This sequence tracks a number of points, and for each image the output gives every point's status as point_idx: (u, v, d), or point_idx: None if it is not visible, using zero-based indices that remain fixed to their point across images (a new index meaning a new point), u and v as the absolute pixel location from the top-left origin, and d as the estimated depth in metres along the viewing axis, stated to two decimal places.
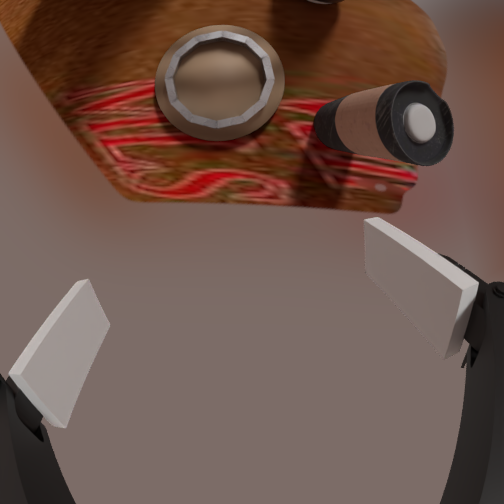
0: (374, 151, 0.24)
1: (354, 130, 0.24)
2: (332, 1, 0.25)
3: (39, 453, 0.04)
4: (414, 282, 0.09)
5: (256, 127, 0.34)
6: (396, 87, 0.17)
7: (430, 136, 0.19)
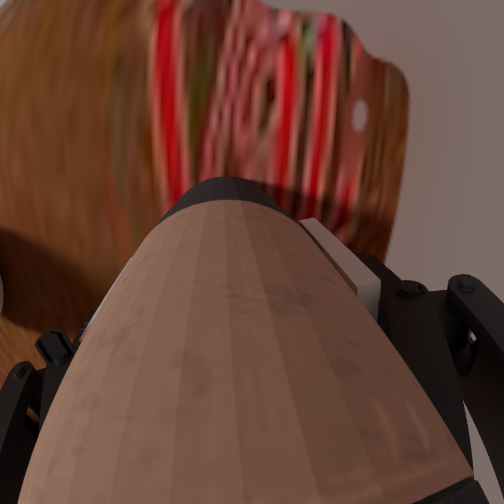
0: None
1: None
2: None
3: None
4: None
5: None
6: None
7: None
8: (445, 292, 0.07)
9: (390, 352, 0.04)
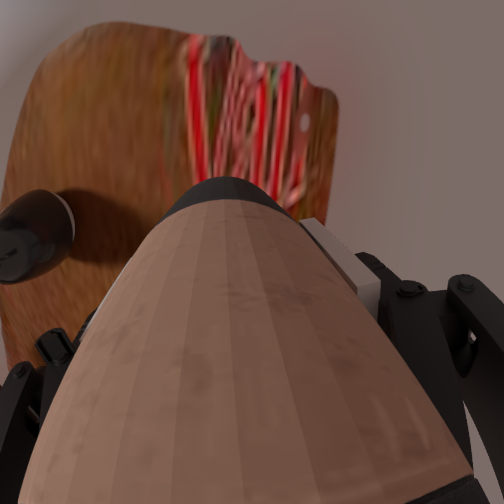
0: None
1: None
2: (67, 217, 0.28)
3: None
4: None
5: None
6: None
7: None
8: (445, 292, 0.07)
9: (389, 350, 0.04)
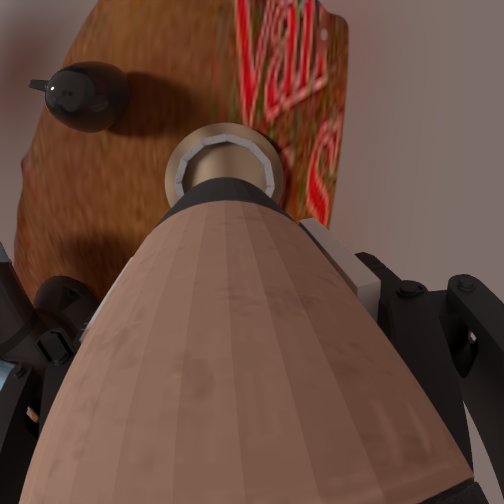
0: None
1: None
2: (127, 82, 0.30)
3: None
4: None
5: (273, 149, 0.38)
6: None
7: None
8: (445, 292, 0.07)
9: (391, 354, 0.04)
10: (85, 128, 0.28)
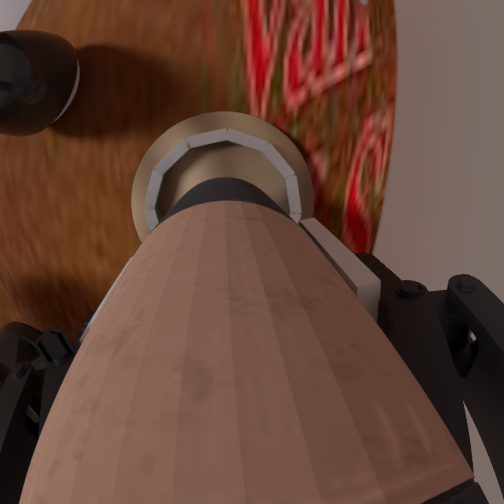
0: None
1: None
2: (74, 57, 0.16)
3: None
4: None
5: (298, 154, 0.24)
6: None
7: None
8: (445, 292, 0.07)
9: (391, 354, 0.04)
10: (9, 131, 0.14)
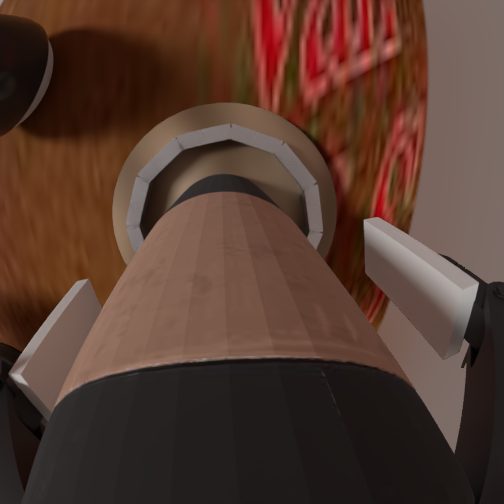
0: None
1: None
2: (44, 42, 0.11)
3: None
4: (414, 282, 0.09)
5: (319, 158, 0.19)
6: None
7: None
8: None
9: (340, 291, 0.05)
10: None
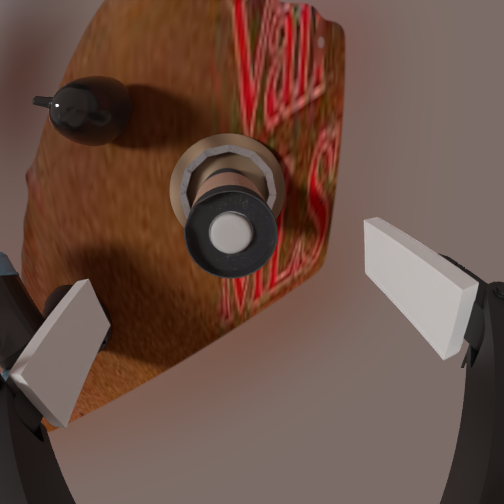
0: None
1: None
2: (129, 96, 0.31)
3: (39, 453, 0.04)
4: (414, 282, 0.09)
5: (273, 158, 0.39)
6: None
7: (244, 224, 0.22)
8: None
9: (252, 187, 0.26)
10: (90, 142, 0.30)
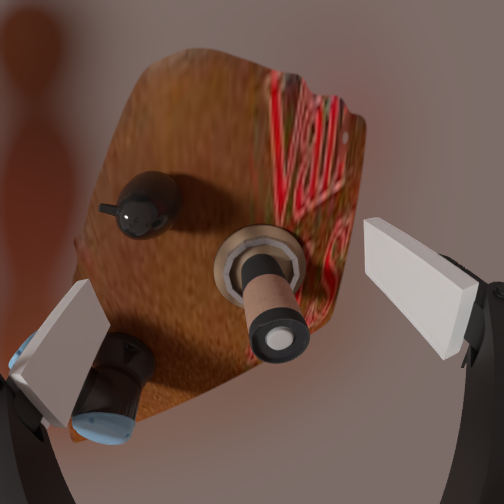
0: None
1: None
2: (181, 193, 0.42)
3: (39, 453, 0.04)
4: (414, 282, 0.09)
5: (299, 246, 0.51)
6: None
7: (289, 334, 0.34)
8: None
9: (292, 300, 0.37)
10: None
